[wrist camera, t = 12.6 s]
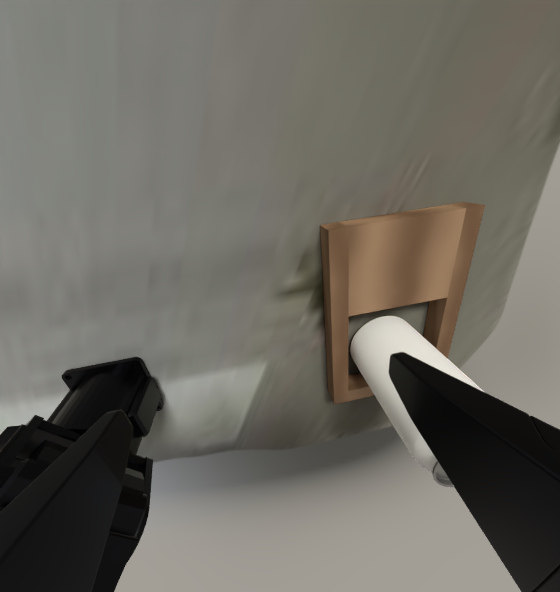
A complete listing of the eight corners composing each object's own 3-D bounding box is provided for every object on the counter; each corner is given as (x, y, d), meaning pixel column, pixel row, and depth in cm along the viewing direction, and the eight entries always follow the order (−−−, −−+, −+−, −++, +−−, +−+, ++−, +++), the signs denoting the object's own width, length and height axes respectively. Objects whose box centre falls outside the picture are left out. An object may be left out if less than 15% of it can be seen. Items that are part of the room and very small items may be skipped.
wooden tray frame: (327, 389, 28) (334, 404, 26) (320, 225, 19) (328, 230, 18) (429, 367, 29) (442, 380, 27) (463, 201, 20) (485, 205, 19)
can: (394, 366, 28) (491, 487, 17) (340, 363, 26) (410, 494, 16) (418, 316, 25) (551, 423, 14) (360, 310, 24) (460, 424, 13)
